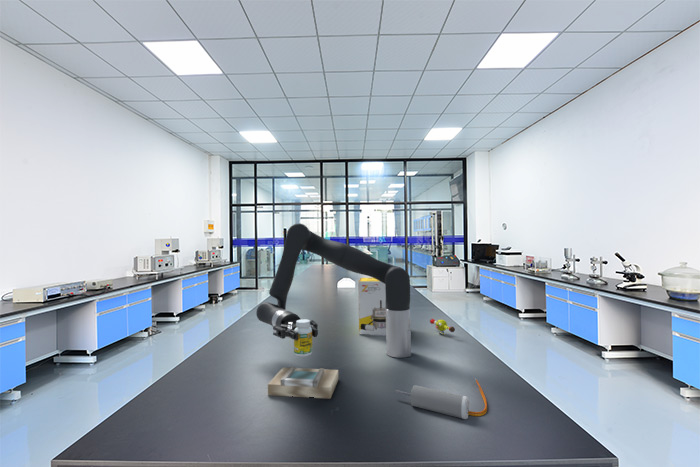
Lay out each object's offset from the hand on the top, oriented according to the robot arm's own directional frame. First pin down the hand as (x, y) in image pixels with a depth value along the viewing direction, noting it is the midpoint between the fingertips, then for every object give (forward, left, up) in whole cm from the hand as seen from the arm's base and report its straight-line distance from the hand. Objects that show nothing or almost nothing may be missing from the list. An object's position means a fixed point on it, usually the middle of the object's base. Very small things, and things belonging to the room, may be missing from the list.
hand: (306, 335), depth 88 cm
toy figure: (-47, -62, -16) cm, 79 cm away
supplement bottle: (+2, -2, -6) cm, 7 cm away
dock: (+2, -3, -16) cm, 16 cm away
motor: (-39, -3, -17) cm, 42 cm away
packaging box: (-16, -66, -16) cm, 70 cm away
